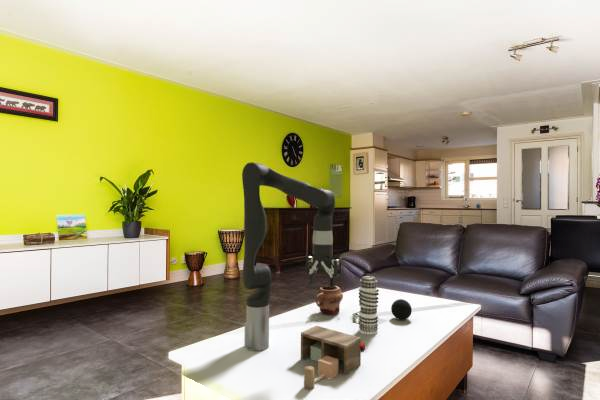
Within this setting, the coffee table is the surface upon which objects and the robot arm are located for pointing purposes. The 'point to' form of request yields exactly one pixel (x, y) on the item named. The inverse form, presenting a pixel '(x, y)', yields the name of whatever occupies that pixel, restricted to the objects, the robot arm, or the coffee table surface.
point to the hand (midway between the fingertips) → (322, 285)
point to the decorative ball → (401, 309)
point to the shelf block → (316, 351)
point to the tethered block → (320, 371)
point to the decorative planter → (329, 300)
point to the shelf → (333, 346)
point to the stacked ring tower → (368, 305)
